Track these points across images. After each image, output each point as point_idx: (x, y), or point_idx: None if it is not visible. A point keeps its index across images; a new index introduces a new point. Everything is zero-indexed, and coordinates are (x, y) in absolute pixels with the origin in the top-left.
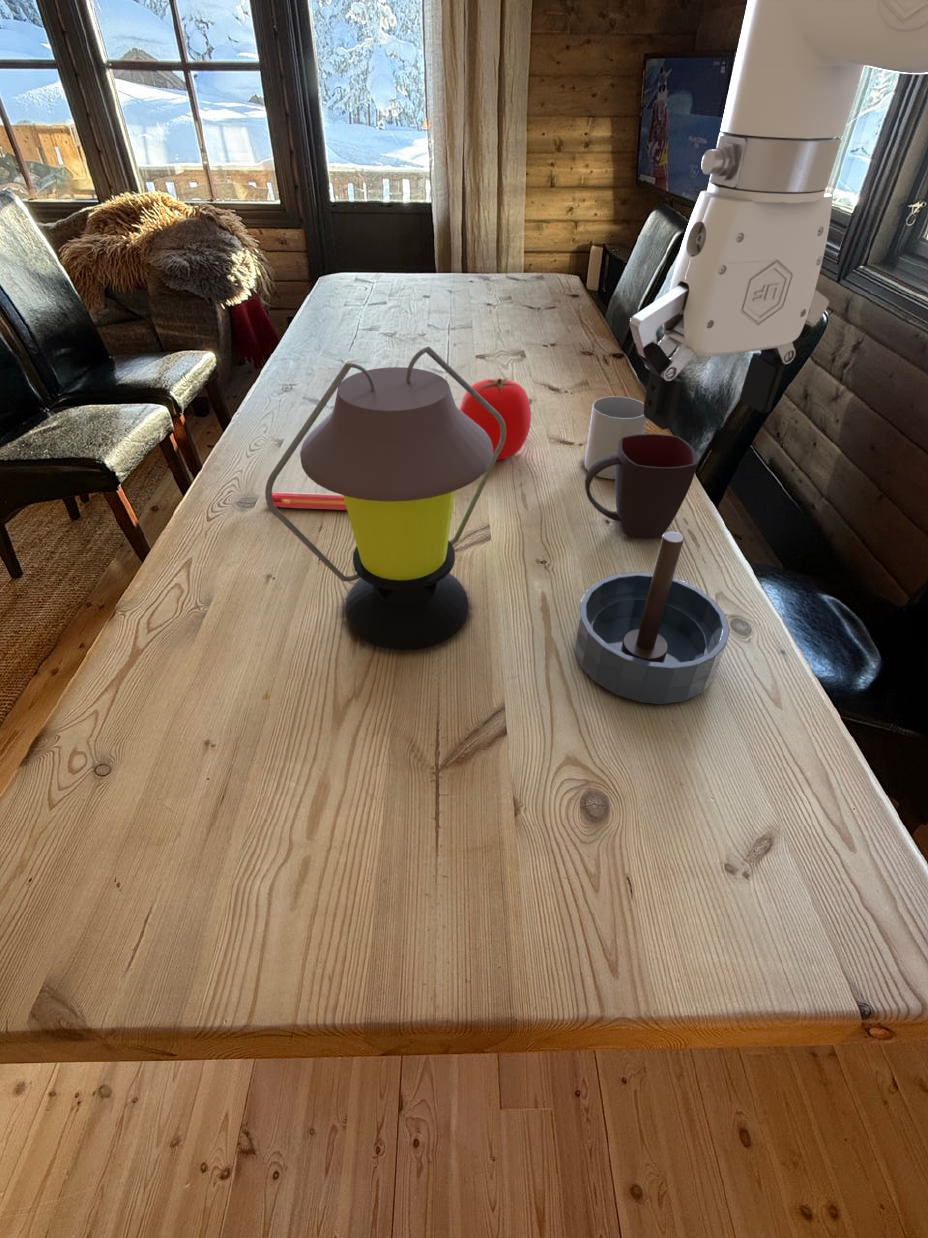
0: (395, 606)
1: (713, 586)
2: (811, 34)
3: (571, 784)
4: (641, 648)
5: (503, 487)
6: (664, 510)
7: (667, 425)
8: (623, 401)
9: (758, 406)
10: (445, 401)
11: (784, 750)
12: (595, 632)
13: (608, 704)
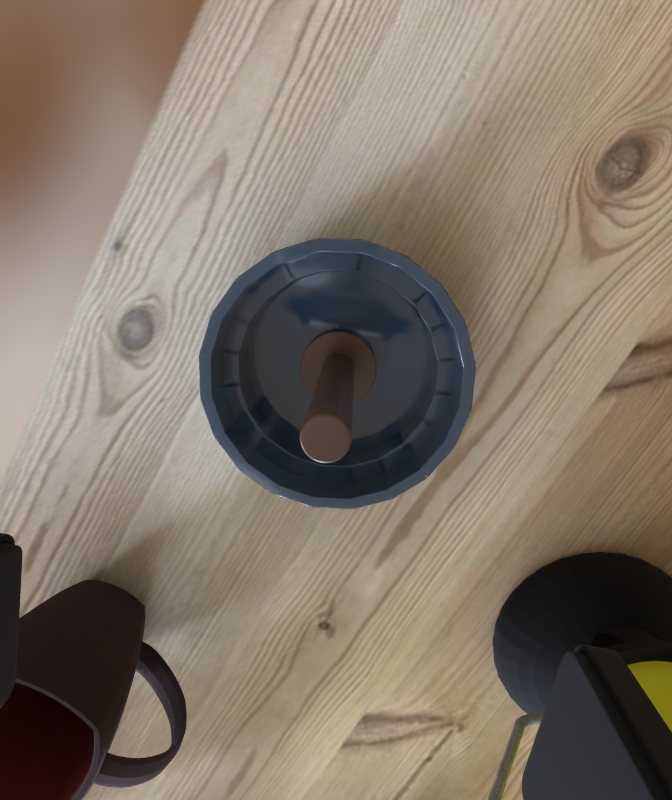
0: (662, 639)
1: (100, 431)
2: None
3: (623, 215)
4: (353, 363)
5: None
6: (76, 612)
7: (613, 656)
8: None
9: (11, 578)
10: None
11: (291, 82)
12: (377, 441)
13: (462, 310)
